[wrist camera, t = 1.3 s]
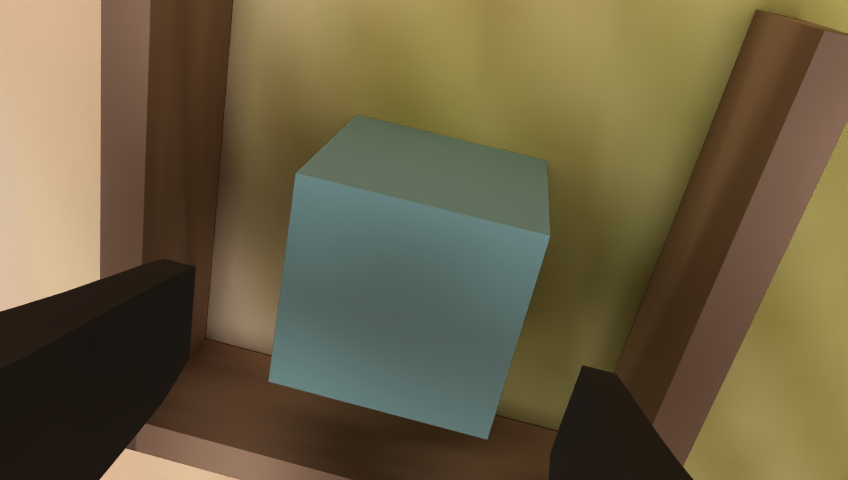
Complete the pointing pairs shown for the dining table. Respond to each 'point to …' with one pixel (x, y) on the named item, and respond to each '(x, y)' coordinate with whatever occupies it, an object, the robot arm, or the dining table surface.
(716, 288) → the walnut crate
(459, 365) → the teal block
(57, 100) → the dining table surface
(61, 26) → the dining table surface
